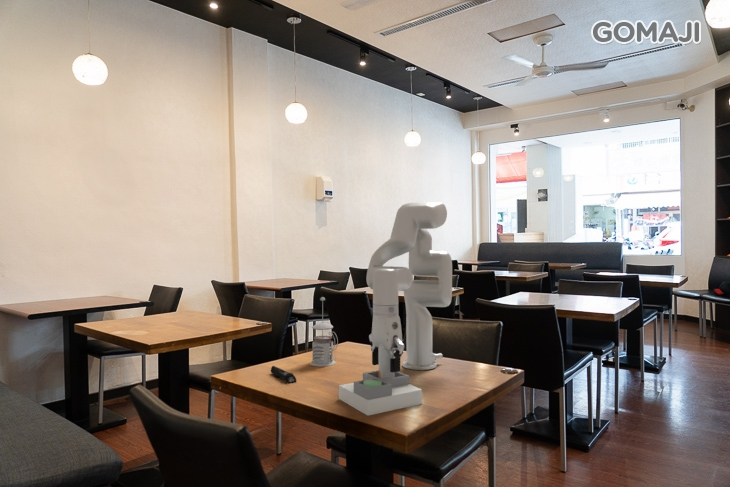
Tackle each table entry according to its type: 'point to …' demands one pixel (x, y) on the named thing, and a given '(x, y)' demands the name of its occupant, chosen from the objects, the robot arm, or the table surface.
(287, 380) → the electric trimmer
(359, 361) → the table surface
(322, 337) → the french press
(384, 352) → the skincare box
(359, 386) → the white socket tray
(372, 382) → the on button
